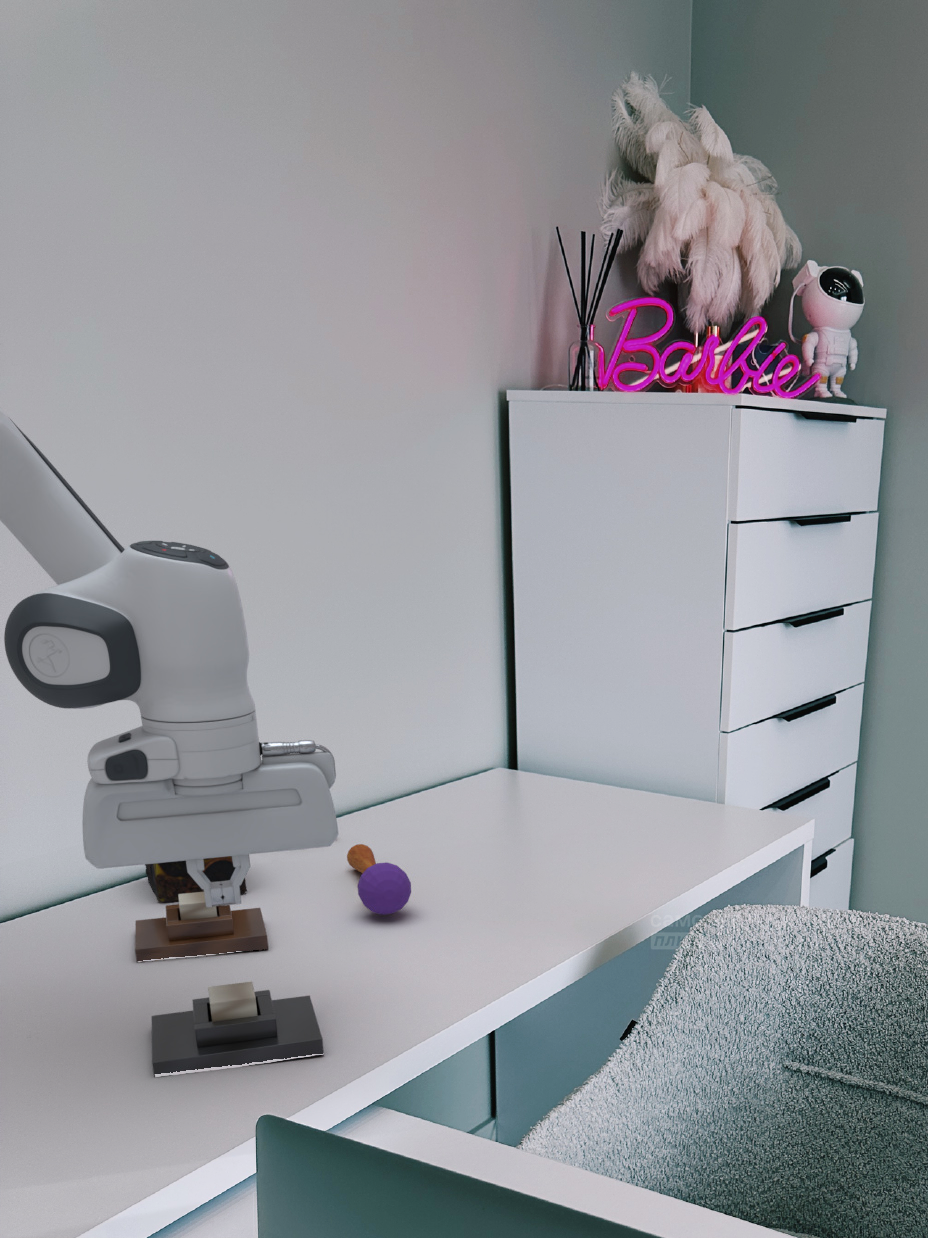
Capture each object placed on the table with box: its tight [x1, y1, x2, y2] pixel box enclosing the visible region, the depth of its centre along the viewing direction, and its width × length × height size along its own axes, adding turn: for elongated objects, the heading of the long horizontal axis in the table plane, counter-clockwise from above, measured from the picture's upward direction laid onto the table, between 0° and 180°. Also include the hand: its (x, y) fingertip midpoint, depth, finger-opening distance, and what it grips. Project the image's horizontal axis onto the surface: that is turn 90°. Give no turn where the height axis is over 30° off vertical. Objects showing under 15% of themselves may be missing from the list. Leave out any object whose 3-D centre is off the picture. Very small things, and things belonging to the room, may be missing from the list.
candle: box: [144, 856, 248, 903], centre depth 150 cm, size 10×10×10 cm
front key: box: [207, 981, 258, 1022], centre depth 112 cm, size 4×4×2 cm
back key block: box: [134, 903, 269, 962], centre depth 135 cm, size 13×9×4 cm
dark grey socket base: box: [151, 989, 325, 1075], centre depth 113 cm, size 14×10×4 cm
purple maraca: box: [346, 843, 412, 916], centre depth 151 cm, size 6×6×20 cm
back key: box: [178, 892, 217, 920], centre depth 134 cm, size 4×4×2 cm
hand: (223, 903), depth 109 cm, fingers closed
